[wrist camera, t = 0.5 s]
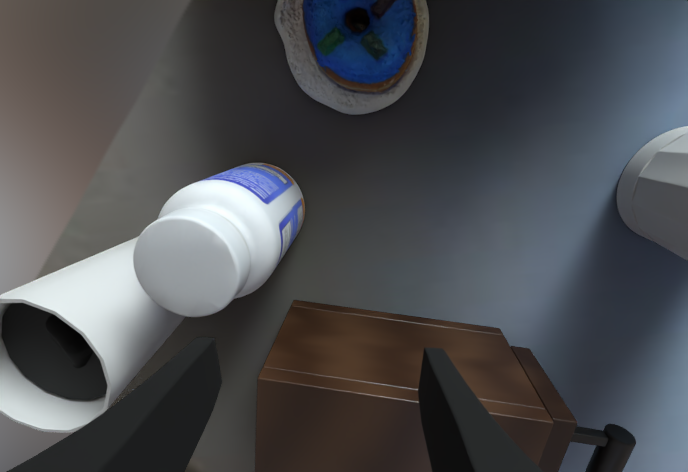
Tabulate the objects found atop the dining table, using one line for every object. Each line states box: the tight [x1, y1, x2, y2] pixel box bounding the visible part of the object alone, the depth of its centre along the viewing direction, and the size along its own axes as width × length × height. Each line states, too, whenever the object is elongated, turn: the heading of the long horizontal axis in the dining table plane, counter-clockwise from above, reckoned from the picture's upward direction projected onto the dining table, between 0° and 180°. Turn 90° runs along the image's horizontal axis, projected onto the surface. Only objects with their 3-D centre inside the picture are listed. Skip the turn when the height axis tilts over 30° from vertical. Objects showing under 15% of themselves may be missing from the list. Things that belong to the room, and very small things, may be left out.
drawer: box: [511, 346, 636, 472], centre depth 22 cm, size 17×10×6 cm, turn 84°
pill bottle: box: [133, 163, 305, 317], centre depth 17 cm, size 5×5×10 cm
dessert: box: [274, 0, 429, 115], centre depth 18 cm, size 8×7×6 cm
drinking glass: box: [0, 237, 186, 433], centre depth 19 cm, size 7×7×10 cm
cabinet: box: [255, 300, 554, 472], centre depth 22 cm, size 14×12×8 cm
